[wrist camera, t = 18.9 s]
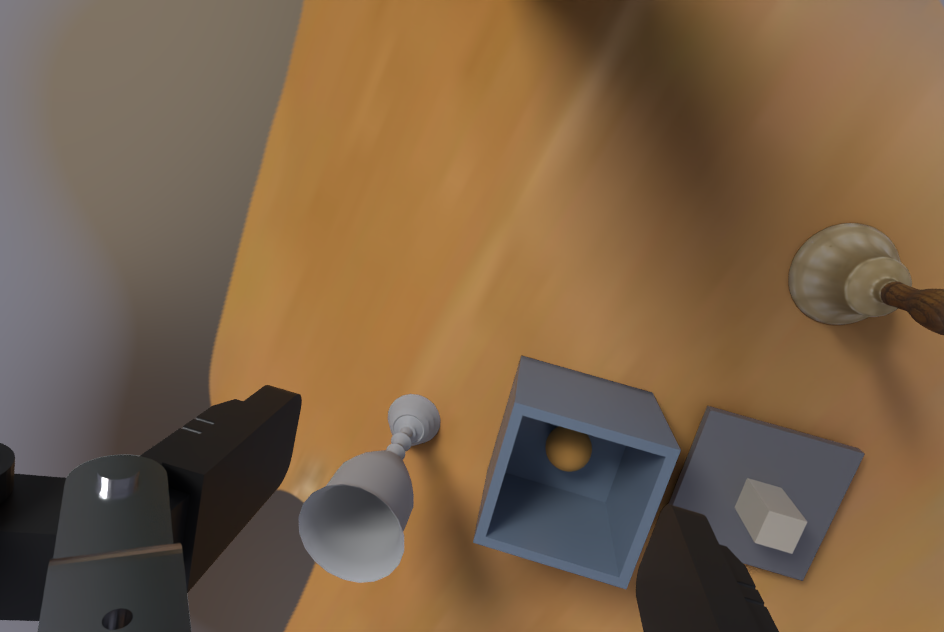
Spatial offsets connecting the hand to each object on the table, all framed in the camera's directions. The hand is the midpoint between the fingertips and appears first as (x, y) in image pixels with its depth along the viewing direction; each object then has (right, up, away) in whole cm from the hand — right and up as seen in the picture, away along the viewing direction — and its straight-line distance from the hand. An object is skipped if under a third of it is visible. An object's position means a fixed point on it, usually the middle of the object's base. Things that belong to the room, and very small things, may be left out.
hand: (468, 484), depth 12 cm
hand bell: (+30, +7, +34) cm, 46 cm away
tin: (+9, -7, +40) cm, 42 cm away
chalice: (-5, -6, +42) cm, 43 cm away
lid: (+25, -12, +40) cm, 48 cm away
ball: (+8, -8, +37) cm, 39 cm away
